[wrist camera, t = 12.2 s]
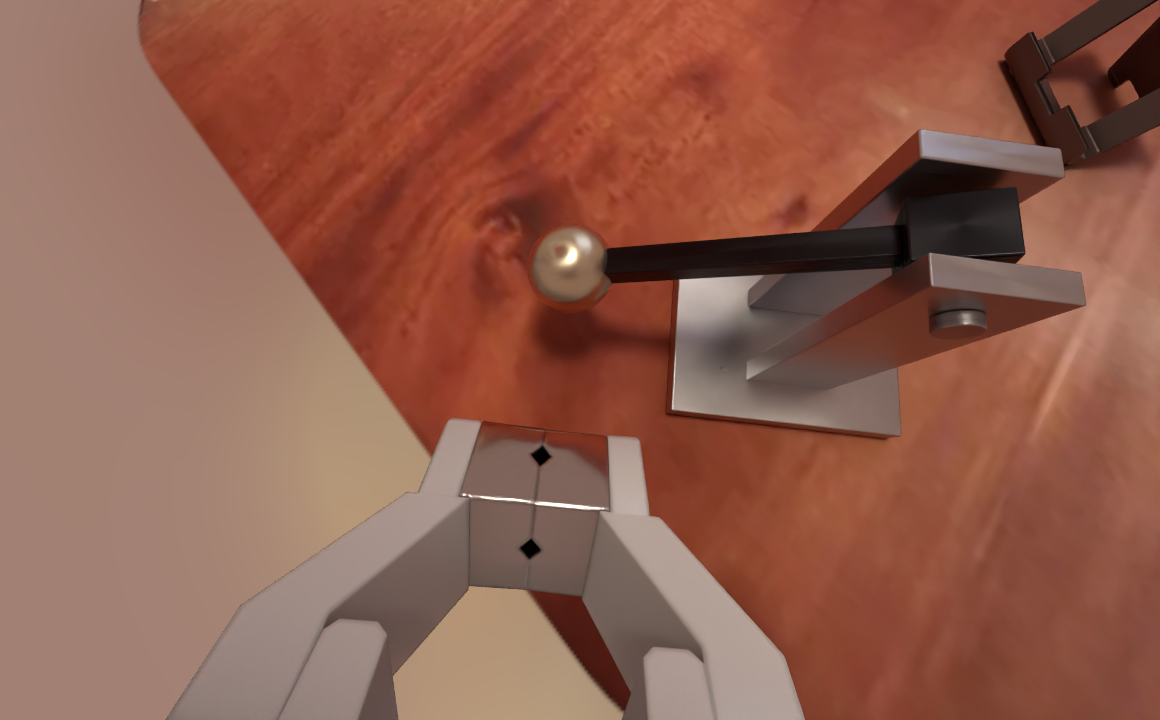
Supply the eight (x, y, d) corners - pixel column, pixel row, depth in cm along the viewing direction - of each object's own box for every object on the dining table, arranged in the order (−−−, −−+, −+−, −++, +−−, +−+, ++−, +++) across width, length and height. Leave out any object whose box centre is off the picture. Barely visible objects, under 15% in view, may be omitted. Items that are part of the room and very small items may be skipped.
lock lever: (544, 325, 22) (505, 294, 19) (553, 252, 23) (518, 211, 20) (987, 314, 16) (1040, 268, 13) (977, 217, 17) (1024, 151, 14)
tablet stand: (994, 58, 33) (1139, -78, 25) (1095, 46, 34) (1265, -89, 26) (1047, 172, 31) (1222, 64, 23) (1152, 156, 32) (1355, 47, 24)
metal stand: (665, 413, 26) (793, 340, 13) (674, 256, 28) (792, 53, 15) (886, 438, 26) (1234, 393, 13) (878, 282, 29) (1169, 108, 15)
